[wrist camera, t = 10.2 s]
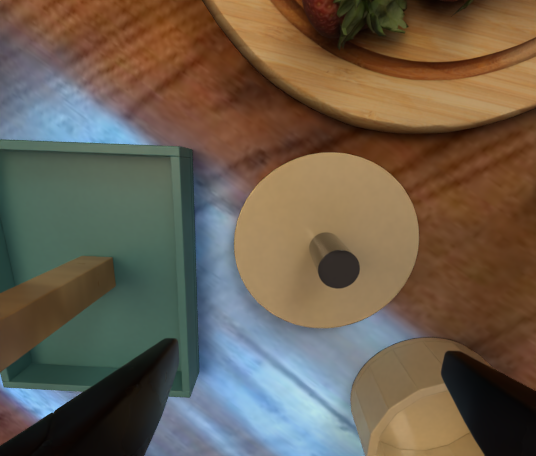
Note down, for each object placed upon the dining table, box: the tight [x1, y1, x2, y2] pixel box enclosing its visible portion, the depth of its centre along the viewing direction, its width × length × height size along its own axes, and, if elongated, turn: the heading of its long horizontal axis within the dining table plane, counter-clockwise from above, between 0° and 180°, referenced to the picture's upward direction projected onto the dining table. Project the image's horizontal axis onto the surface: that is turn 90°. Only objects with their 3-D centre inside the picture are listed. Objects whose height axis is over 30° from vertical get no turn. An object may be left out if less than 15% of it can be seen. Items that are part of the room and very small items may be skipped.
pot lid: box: [234, 152, 419, 328], centre depth 17 cm, size 13×13×5 cm
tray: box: [0, 140, 199, 398], centre depth 19 cm, size 19×15×3 cm
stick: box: [0, 256, 116, 372], centre depth 15 cm, size 2×2×10 cm
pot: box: [350, 338, 494, 456], centre depth 20 cm, size 12×12×4 cm
